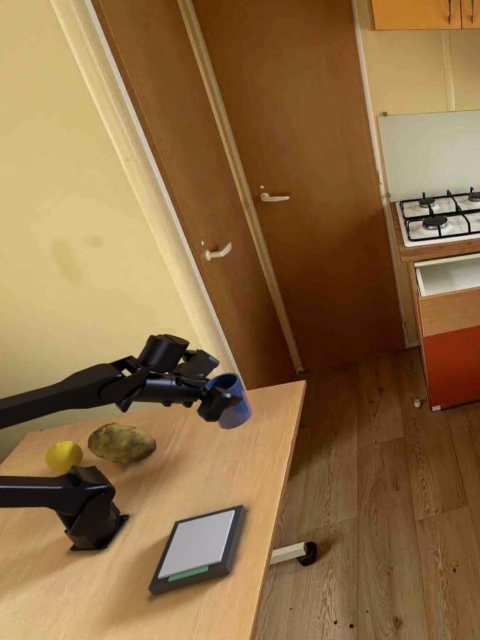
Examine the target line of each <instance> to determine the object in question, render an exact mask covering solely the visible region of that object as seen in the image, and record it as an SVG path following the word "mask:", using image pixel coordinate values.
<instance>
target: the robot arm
mask: <svg viewBox="0 0 480 640" xmlns="http://www.w3.org/2000/svg"><path fill="white" fill-rule="evenodd" d="M190 344H191V343H190V341H189V340H188V339H185V338H182V337H181V336H177V335H173V334H170V333H160V334H157V335H156V334H149V336H148V338H147V339H146V341H145V345H144V347H143V348H142V350H141V351H140V353H139V354H138V357H135V356H134V355H132V354H130V355H128V356H124V357H121V358H120V359H116V360H114V361H111V362H108V363H107V362H105V363H104V362H103V363H102V362H101V363H98V364H94V365H91V366H89V367H86V368H84V369H80V370H78V371H76V372H73V373H71V374H70V375H68V376H67V377H65V378H64V379H62V380H61V381H58V382H56V383H52V384H50V385H46V386H43V387H39V388H35V389H31V390H27V391H25V392H21V393H17V394H13V395H10V396H5V397H2V398H0V431H1V430H5V429H7V428H11V427H14V426H17V425H20V424H21V425H22V424H23V423H27V422H30V421H33V420H36V419H40V418H43V417H45V416H46V417H47V416H49V415H54V414H55V413H59V412H65V411H68V410H90V409H95V408H99V407H105V406H110V405H112V404H115V406H116V407H117V409H118V410H119V411H120V412H121V413H122V414H125V413H127V412H128V411H129V409H130V407H131V406H132V403H133V402H134V403H151V404H152V403H153V404H154V403H155V404H161V405H162V406H163V407H164V408H171V407H172V405H182V406H183V407H184V408H186V409H191V408H192V406H193V405H194V403H198V401H200V404H199V406H198V407H197V410H196V412H197V414H198V417H200V418H201V419H203V420H204V422H206V423H217V421H218V420H219V418H220V416H221V414H222V413H223V411H224V410H225V409H227V408H229V407H232V406H234V405H236V404H238V403H241V402H242V400H243V398H242V397H239V396H236V395H232V394H230V393H229V392H228V391H227V390H226V389H225V388H223V387H222V386H221V387H213V388H211V389H210V390H209V389H208V388H207V387H206V386H205V384H206V383H207V382H208V381H209V380H211V379H212V378H209V377H208V376H209V375H210V374H211V373H212V372H213V371H214V370H215V369H217V368H218V367H219V366H220V363H221V361H220V360H219V359H217V358H216V357H215V356H213V355H211V354H210V353H209V352H206V351H205V350H203V349H198V348H196V349H188V347H189V346H190ZM181 360H182V361H183V362H180V361H181ZM125 370H126V371H127V372H128V373H129V374H128V375H126V374H125V373H124V372H123V371H125ZM116 494H117V491H116V487H115V486H114V485H113V484H112V483H111V481H110V480H109V479H108V477H107V476H106V475H105V473H103V472H102V471H101V470H100V469H99V468H98V467H97V465H90V466H82V465H73V466H71V468H70V470H69V471H67V472H65V473H63V474H60V475H58V476H29V475H27V476H26V475H0V509H16V508H17V509H25V508H26V509H29V508H31V509H33V508H34V509H35V508H46V509H50V510H52V511H54V512H55V514H56V515H57V517H58V519H59V520H60V522H61V524H62V525H63V526H64V528H65V529H64V531H63V533H64V534H65V535H66V536H67V537H68V539H69V540H70V541H71V542H72V543H73V544H72V545H71V547H70V548H69V551H70V552H72V553H73V552H90V551H91V552H92V551H93V552H94V551H105V550H106V549H107V548H108V547H109V546H110V544H111V543H112V541H113V540H114V539H115V538H116V536H117V534H118V533H119V532H120V530H121V529H122V528H123V527H124V526H125V524H126V523H127V521H128V520H129V518H130V515H129V514H122V512H121V510H120V508H119V507H118V506H117V505H116V503H115V502H114V501H113V500H114V498H115V497H116Z"/></svg>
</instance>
